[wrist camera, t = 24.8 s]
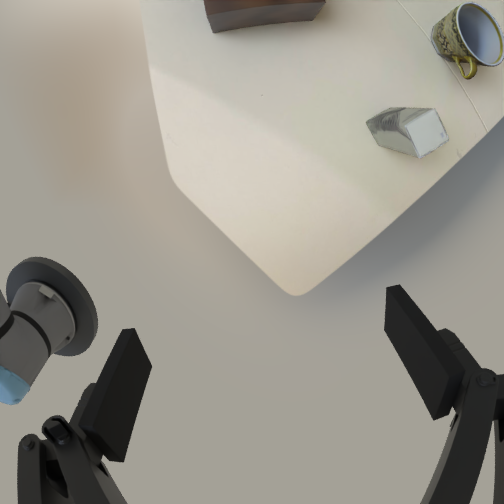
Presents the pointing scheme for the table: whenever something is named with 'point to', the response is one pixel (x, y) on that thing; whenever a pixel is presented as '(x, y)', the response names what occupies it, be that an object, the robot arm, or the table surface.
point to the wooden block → (258, 12)
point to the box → (409, 130)
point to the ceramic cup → (469, 38)
